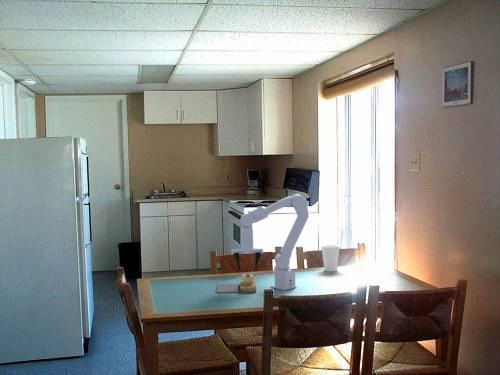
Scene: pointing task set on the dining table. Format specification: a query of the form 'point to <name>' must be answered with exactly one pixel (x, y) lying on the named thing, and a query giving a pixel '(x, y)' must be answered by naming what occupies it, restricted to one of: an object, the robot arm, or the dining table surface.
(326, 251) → the foam cup
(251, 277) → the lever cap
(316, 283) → the dining table surface
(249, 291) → the body
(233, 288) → the mat
